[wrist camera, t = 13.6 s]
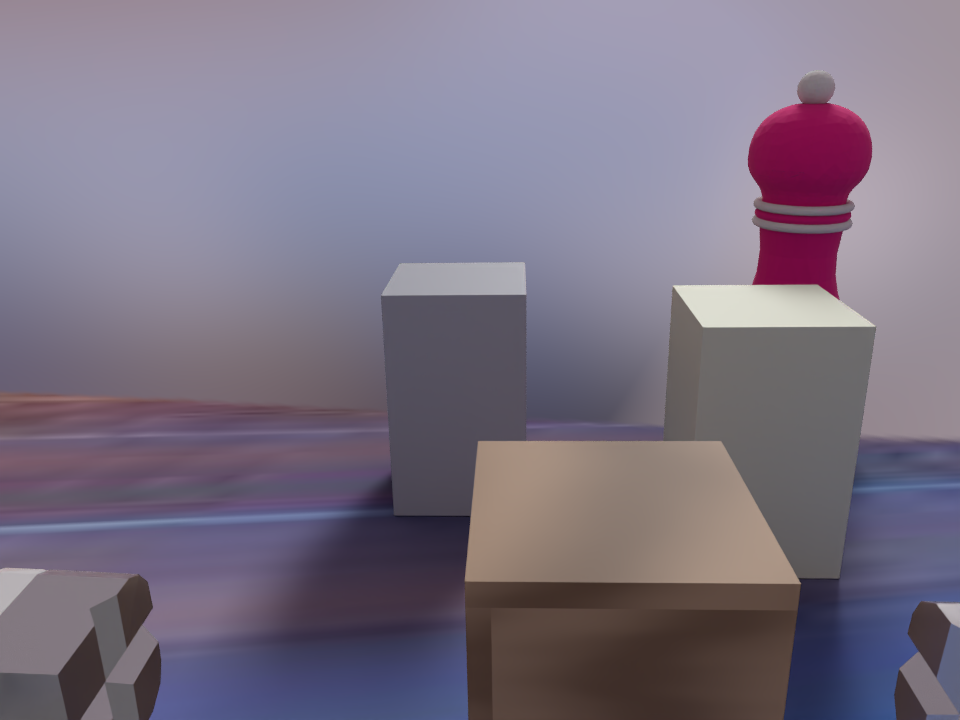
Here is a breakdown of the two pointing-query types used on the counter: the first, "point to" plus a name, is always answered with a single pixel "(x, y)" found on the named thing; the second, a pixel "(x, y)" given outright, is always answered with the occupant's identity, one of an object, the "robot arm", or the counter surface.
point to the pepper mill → (806, 185)
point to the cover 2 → (776, 403)
